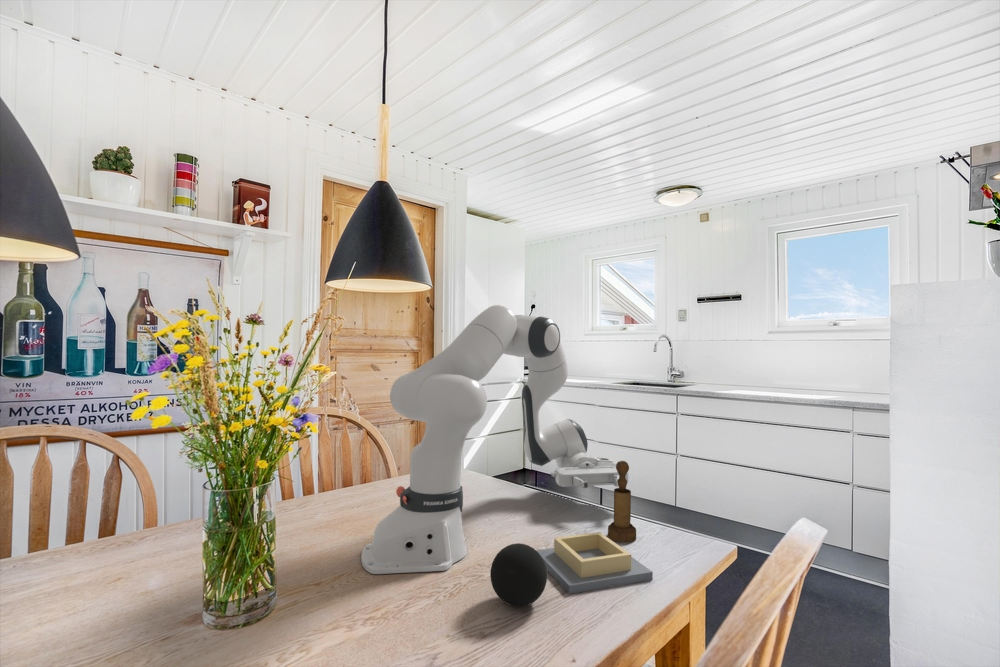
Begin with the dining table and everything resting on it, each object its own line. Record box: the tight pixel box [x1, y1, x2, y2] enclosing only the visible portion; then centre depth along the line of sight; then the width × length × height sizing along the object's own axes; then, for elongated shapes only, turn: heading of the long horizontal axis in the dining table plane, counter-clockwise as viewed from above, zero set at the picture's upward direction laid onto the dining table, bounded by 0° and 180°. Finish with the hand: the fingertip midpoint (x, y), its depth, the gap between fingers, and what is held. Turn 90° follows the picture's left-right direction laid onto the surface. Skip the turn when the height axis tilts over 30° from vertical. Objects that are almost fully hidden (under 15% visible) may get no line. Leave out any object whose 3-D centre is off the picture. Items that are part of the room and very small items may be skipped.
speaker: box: [490, 542, 548, 607], centre depth 87 cm, size 10×10×10 cm
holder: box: [535, 531, 654, 595], centre depth 100 cm, size 18×16×4 cm
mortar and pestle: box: [607, 460, 637, 544], centre depth 117 cm, size 7×6×18 cm
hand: (602, 484), depth 129 cm, fingers open, 8 cm apart
